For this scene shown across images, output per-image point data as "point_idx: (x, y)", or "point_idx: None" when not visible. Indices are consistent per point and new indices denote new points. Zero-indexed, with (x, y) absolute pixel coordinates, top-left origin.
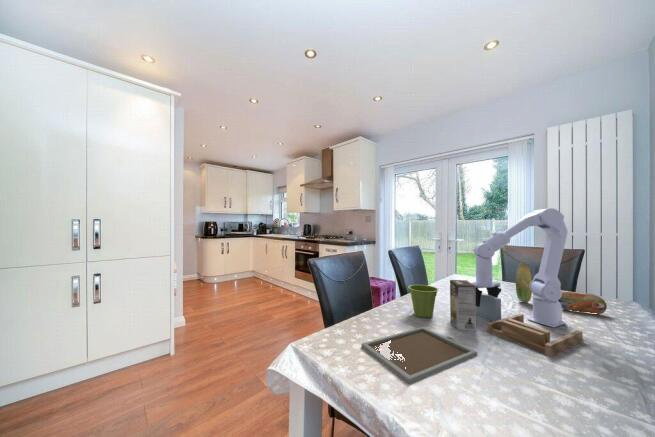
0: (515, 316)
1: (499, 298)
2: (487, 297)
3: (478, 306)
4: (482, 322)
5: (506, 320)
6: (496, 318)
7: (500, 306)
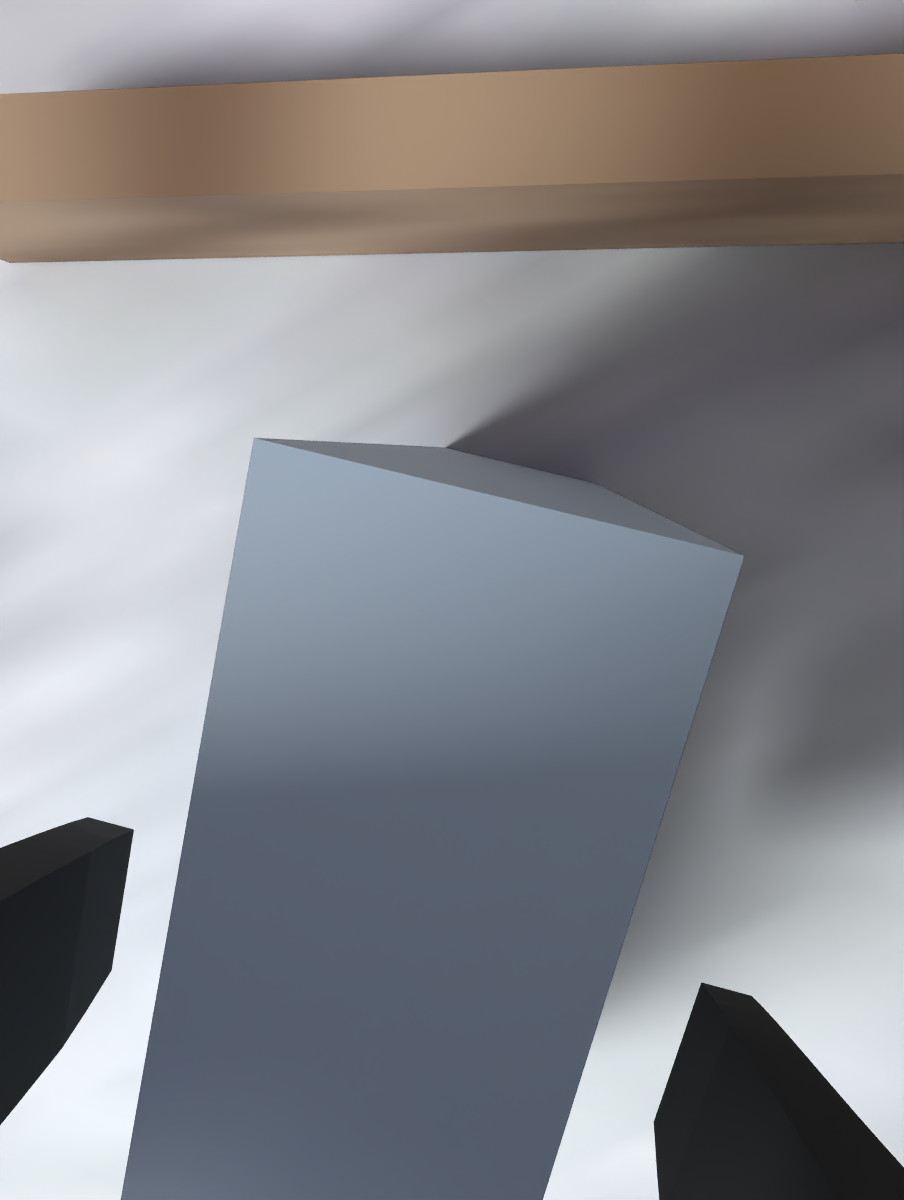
0: (237, 112)
1: (275, 529)
2: (553, 1098)
3: (749, 1001)
4: (897, 625)
5: (823, 64)
6: (588, 483)
7: (397, 452)
